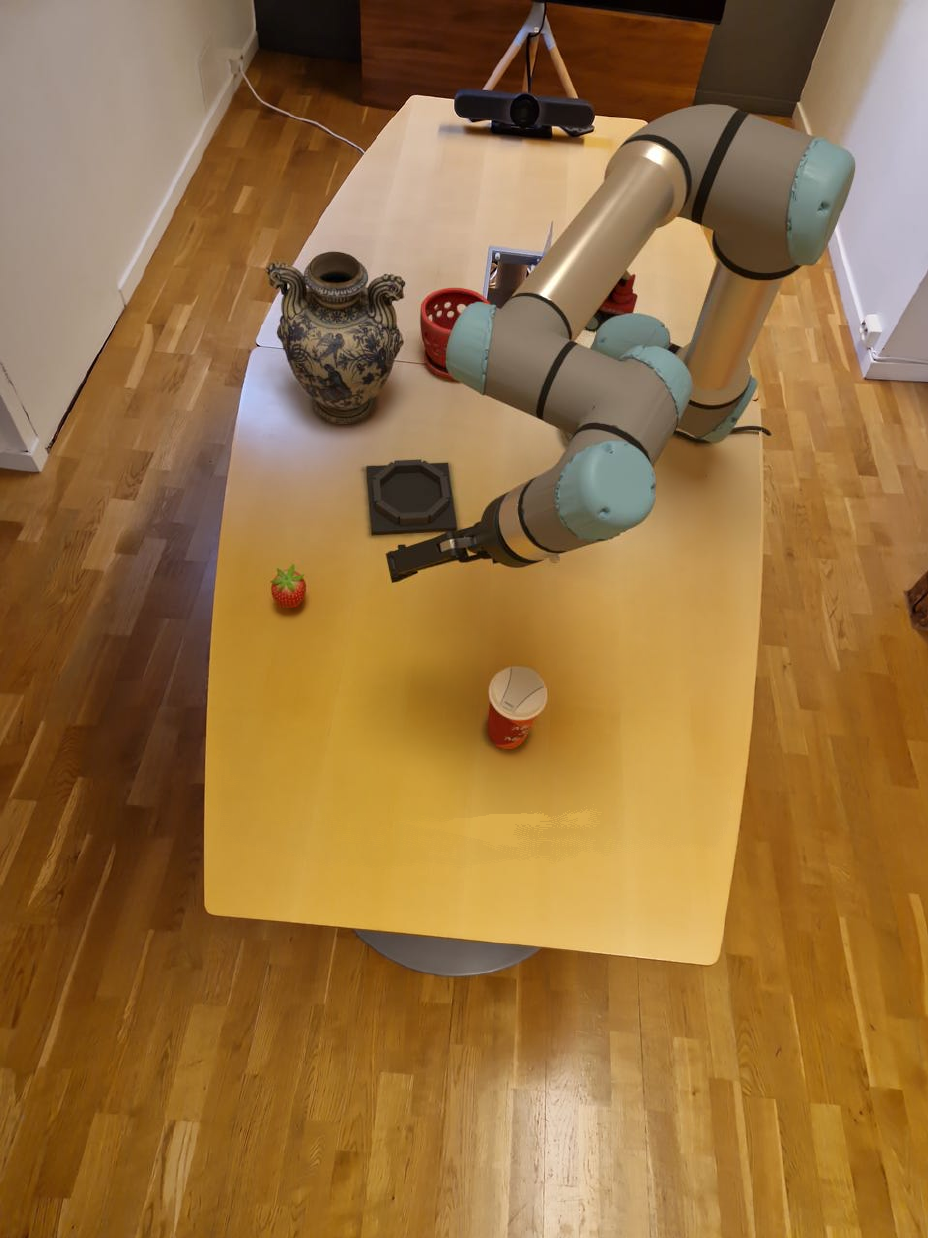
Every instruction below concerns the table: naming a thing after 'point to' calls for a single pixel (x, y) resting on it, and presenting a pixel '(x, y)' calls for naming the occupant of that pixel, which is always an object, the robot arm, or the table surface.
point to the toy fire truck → (615, 302)
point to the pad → (410, 498)
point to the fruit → (288, 588)
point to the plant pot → (442, 324)
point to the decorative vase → (338, 332)
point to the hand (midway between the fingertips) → (444, 561)
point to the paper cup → (514, 705)
